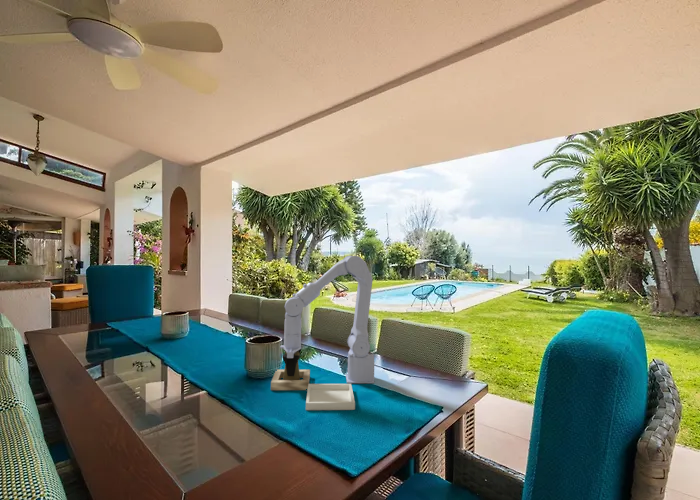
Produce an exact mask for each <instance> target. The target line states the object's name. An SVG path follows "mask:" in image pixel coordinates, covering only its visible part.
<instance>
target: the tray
mask: <svg viewBox="0 0 700 500" xmlns="http://www.w3.org/2000/svg"><path fill="white" fill-rule="evenodd" d="M306 392H307V393H306V398H305V399H306V400H305V411H353V410H356V401H355V396H354V392H353V386H352V383H309V384H308V390H306Z"/></svg>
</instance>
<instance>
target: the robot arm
mask: <svg viewBox="0 0 700 500" xmlns="http://www.w3.org/2000/svg"><path fill="white" fill-rule="evenodd" d="M348 274H349V275H351V276H352V277H353V278H354V280H355V281H356V282H357V289H356V298H355V308H354V315H353V316H354V317H353V326H352V327H351V330H350V334H349V336H348V338H347V339H346V342H347V346H348V347H349V351H348V352H347V373H346V374H345V378H346V379H345V380H346V384H374V383H375V355H374V354H370V353H369V352H370V350H371V344H370V342H369V336H370V335H369V332H368V331H369V330H368V324H369V322H368V321H369V315H370V307H371V306H370V305H371V297H372V289H373V277H372V273H371V271H370V269H369V267H368V265H367V262H366V261H365V260H364V259H363V258H362V257H360V256H358V255H346V256H345V257H343V258H342V259H341V260H338V262H337V263H335V264H334V265H332V267H331V268H330V269H328V270H327V271H326V272H325V273H324V274H322V276H320V277H319V278H318V279H317V280H316V281H315V282H308V283H304V284H303V285H302V288H301V289H300V290H299V291H297V292H296V293H293V294H292V297H289V298H288V299H287V300H286V301H285V304H284V306H283V307H284V309H285V314H284V318H285V319H284V323H283V324H284V326H283V327H284V331H283V332H284V333H283V334H284V335H283V336H284V337H283V344H280V346H279V348H280V349H281V350H284V352H285V353H286V352H287V354H285V353H283V354H282V355H281V356H282V360H283V362H284V366H285V365H286V371H287V375H288V376H294V374H295V369H296V364H297V361H298V362H299V360H298V359H300V358H299V357H301V355H295V354H294V353H295V352H297V351H298V352H299V353H300V354H301V352H302V317H301V316H302V312H303V310H304V308H306V307H308V306H309V305H310V304H311V303H312V302H313V301H315V300H316V299H317V298H318V297H319V296H320V295H321V290H322V289H323V288H325V286H328V284H330V283H331V282H332V281H334V280H335V279H337V277H339V276H344V275H348Z"/></svg>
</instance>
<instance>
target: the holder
mask: <svg viewBox="0 0 700 500" xmlns="http://www.w3.org/2000/svg"><path fill="white" fill-rule="evenodd" d="M276 370H277V371H276ZM276 370H275V372H274V374H273V376H272V378H271V381H270V391H308V384H310V379H311V369H299V375H300V378H303V379H300V380H283V379H281V378H283V376H284V370H285V369H276ZM306 389H307V390H306Z"/></svg>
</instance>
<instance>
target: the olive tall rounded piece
mask: <svg viewBox="0 0 700 500" xmlns="http://www.w3.org/2000/svg"><path fill="white" fill-rule="evenodd" d="M284 354H287V352H285V353H284ZM294 354H295V355H300V354H301V352H300V353H299V352H298V351H297V352H295V353H294ZM300 357H301V355H300ZM300 357H299V359H300ZM299 359H298V361H297V364H296V369H295V374H294V376H288V375H287V371H286V365H285V364H284V369H283V370H284V376H283V379H282V380H301V379H300V375H299V370H300V367H299Z"/></svg>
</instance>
